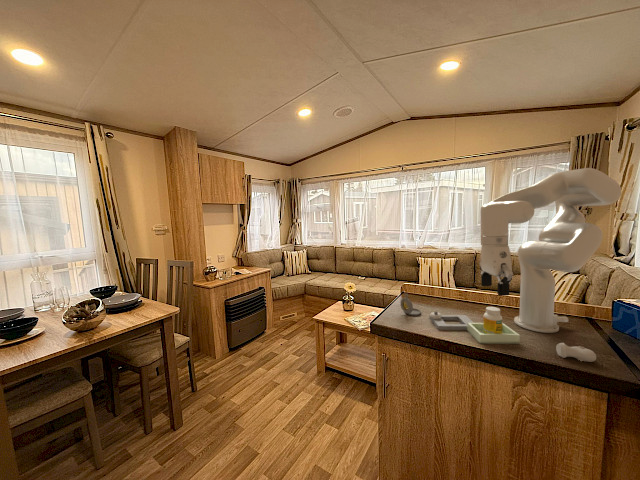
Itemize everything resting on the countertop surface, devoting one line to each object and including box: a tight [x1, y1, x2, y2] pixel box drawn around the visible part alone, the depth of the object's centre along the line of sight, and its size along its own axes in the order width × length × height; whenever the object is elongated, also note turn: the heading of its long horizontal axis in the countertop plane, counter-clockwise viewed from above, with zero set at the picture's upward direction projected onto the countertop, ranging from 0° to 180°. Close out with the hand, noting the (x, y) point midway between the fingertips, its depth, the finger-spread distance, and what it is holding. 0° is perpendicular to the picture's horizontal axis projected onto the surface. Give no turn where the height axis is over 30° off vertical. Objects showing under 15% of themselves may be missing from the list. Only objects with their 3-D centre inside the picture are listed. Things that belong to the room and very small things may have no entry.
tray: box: [466, 322, 521, 345], centre depth 85 cm, size 12×9×3 cm
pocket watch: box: [400, 292, 422, 316], centre depth 108 cm, size 8×8×10 cm
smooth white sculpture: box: [555, 342, 597, 363], centre depth 72 cm, size 4×8×5 cm
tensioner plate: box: [429, 311, 475, 331], centre depth 96 cm, size 14×10×4 cm
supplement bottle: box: [482, 306, 503, 334], centre depth 85 cm, size 5×5×10 cm
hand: (494, 290), depth 84 cm, fingers open, 9 cm apart
